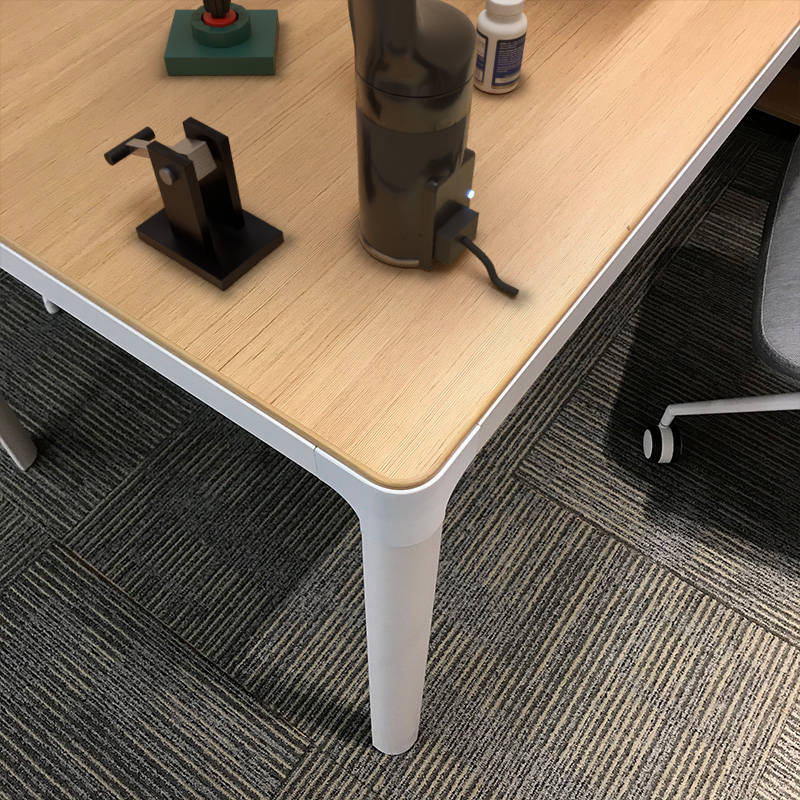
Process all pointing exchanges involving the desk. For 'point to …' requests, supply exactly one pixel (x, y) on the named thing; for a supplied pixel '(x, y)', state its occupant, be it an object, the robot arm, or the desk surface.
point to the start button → (220, 19)
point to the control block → (223, 43)
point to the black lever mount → (205, 213)
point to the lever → (185, 147)
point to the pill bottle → (500, 45)
